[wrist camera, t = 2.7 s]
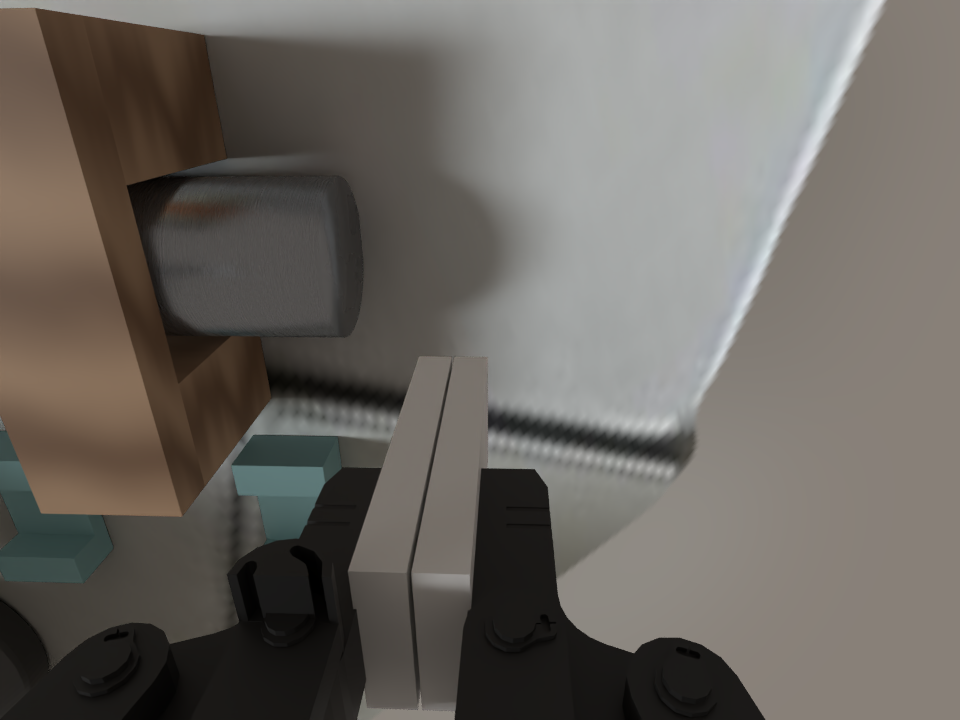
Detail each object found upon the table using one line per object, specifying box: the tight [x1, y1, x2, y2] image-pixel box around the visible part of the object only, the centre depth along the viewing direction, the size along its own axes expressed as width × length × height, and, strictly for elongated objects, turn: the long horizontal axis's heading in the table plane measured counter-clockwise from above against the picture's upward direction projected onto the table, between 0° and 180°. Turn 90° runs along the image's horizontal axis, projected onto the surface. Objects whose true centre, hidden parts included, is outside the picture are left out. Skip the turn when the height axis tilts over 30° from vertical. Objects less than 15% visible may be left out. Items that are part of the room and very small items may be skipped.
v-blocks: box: [0, 431, 342, 583], centre depth 35 cm, size 9×21×3 cm, turn 90°
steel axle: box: [126, 176, 363, 337], centre depth 26 cm, size 24×7×7 cm, turn 91°
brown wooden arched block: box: [0, 8, 271, 517], centre depth 25 cm, size 18×6×10 cm, turn 1°
